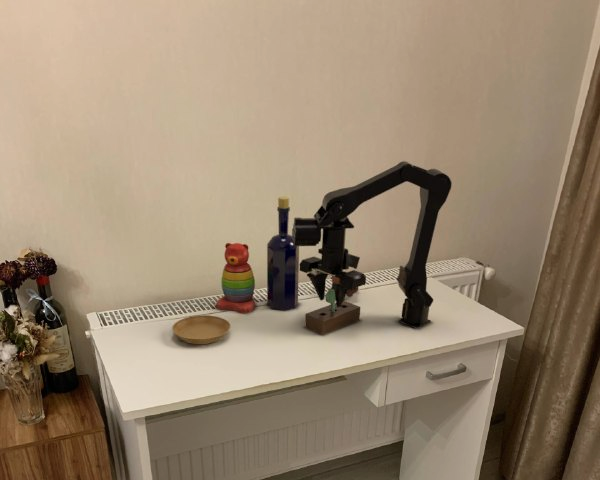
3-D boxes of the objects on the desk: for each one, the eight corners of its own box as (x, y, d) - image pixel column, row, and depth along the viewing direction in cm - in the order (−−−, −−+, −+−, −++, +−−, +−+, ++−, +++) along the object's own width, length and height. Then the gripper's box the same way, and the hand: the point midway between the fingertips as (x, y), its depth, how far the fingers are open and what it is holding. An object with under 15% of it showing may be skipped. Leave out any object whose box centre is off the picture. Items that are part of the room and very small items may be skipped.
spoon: (337, 322, 166) (337, 288, 160) (328, 327, 164) (328, 292, 158) (334, 321, 167) (334, 287, 161) (325, 326, 165) (325, 291, 159)
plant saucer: (176, 351, 150) (175, 341, 148) (170, 326, 162) (169, 317, 160) (235, 345, 153) (235, 335, 152) (225, 321, 165) (225, 312, 164)
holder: (359, 320, 168) (360, 306, 166) (322, 335, 159) (323, 321, 157) (342, 313, 172) (343, 300, 170) (304, 327, 163) (305, 313, 161)
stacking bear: (213, 308, 173) (210, 246, 164) (228, 296, 181) (225, 236, 172) (248, 314, 170) (247, 251, 161) (262, 301, 178) (261, 241, 169)
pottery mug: (319, 294, 185) (327, 268, 185) (343, 303, 190) (351, 278, 190) (342, 297, 175) (350, 269, 175) (367, 307, 180) (375, 280, 180)
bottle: (285, 313, 171) (286, 204, 156) (260, 305, 176) (259, 198, 160) (304, 303, 177) (308, 197, 162) (280, 296, 182) (281, 192, 167)
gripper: (382, 247, 153) (377, 306, 161) (328, 231, 164) (326, 286, 172) (352, 256, 146) (348, 317, 154) (298, 239, 157) (297, 296, 165)
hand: (330, 303), depth 162 cm, fingers open, 6 cm apart
